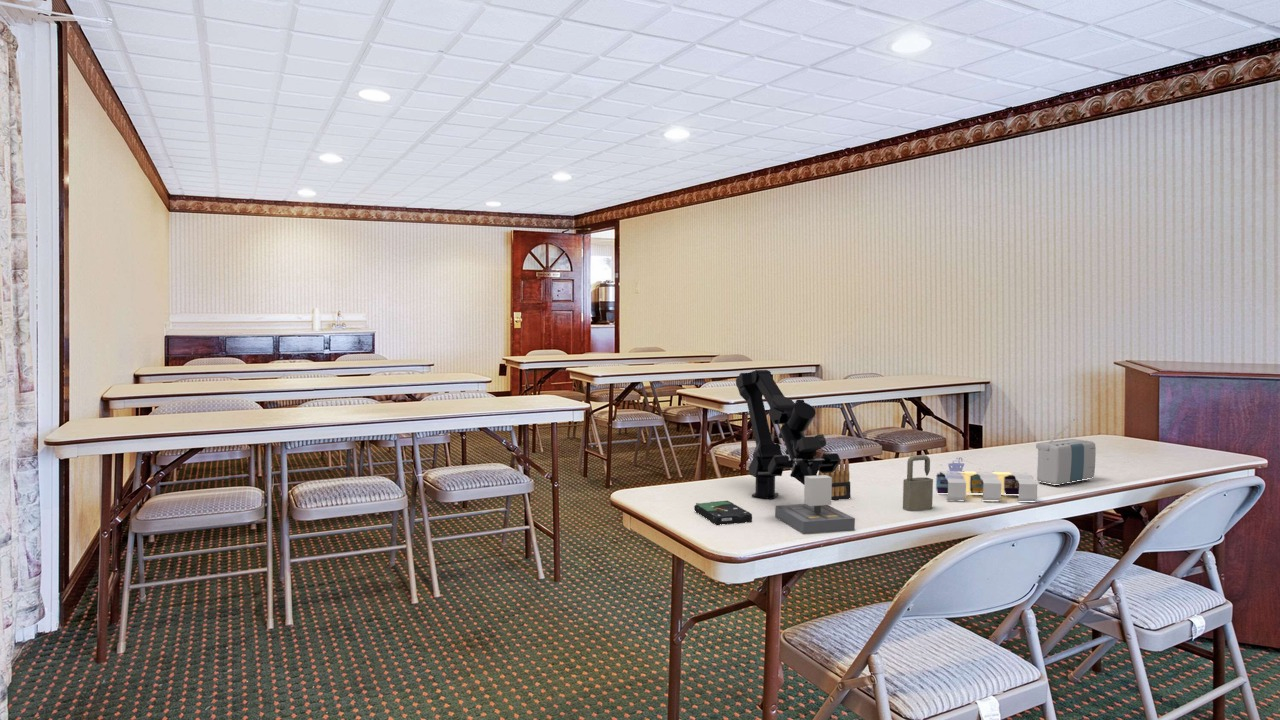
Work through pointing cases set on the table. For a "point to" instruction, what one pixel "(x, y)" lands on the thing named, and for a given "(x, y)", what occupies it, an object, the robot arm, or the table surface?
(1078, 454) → the stereo radio cassette player
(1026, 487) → the diorama
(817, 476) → the fader knob
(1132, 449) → the table surface
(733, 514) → the disk drive
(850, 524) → the panel
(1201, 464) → the table surface
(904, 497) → the padlock
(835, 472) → the ammunition clip
